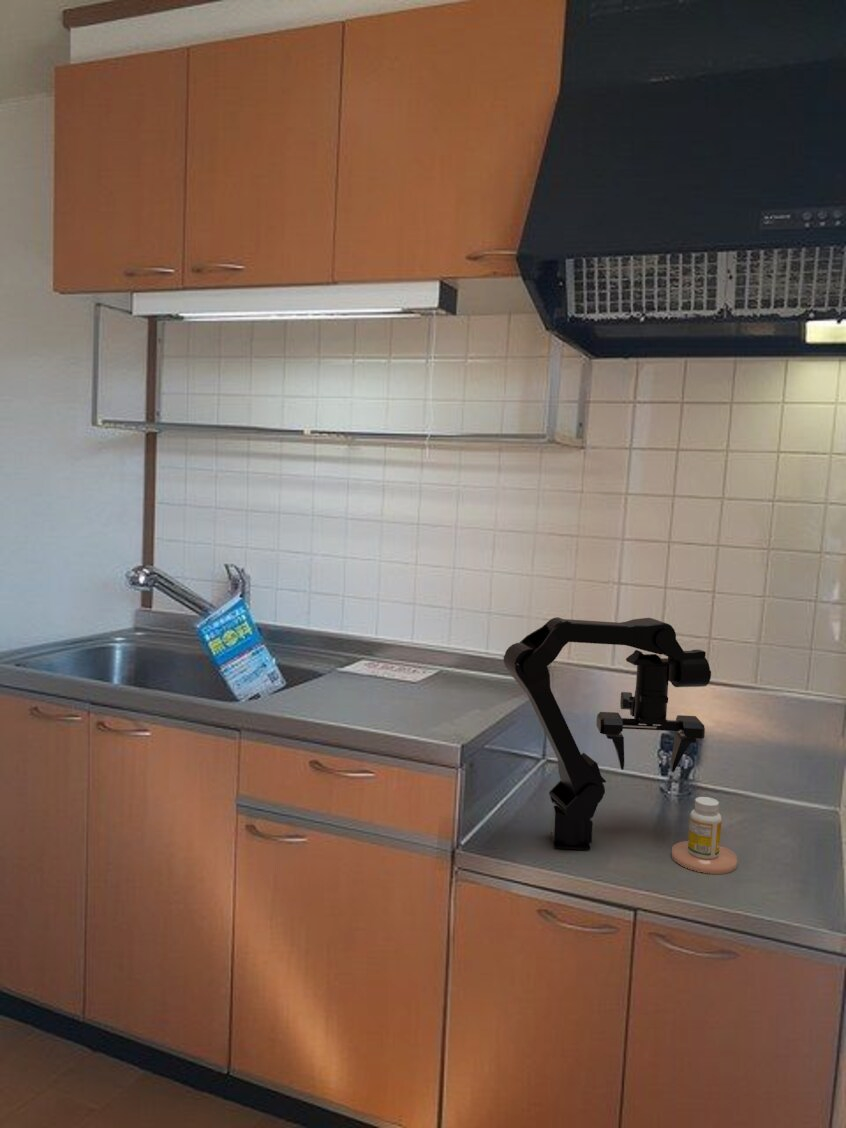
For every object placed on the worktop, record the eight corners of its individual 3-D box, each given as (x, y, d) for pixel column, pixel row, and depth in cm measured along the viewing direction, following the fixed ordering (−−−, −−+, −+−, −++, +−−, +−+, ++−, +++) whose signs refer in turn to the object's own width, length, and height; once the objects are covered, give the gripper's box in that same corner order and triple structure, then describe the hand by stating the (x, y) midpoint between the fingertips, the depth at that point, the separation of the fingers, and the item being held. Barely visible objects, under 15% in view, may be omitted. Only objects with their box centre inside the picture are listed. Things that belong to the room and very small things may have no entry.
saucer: (679, 872, 150) (680, 865, 150) (665, 845, 161) (666, 839, 161) (745, 875, 150) (745, 869, 150) (726, 848, 161) (727, 842, 160)
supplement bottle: (699, 861, 152) (702, 807, 151) (681, 848, 157) (684, 796, 156) (725, 858, 154) (729, 805, 153) (707, 845, 159) (710, 794, 158)
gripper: (692, 679, 169) (687, 758, 170) (594, 675, 170) (590, 754, 171) (707, 694, 158) (702, 778, 159) (603, 689, 159) (598, 773, 160)
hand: (647, 770), depth 163 cm, fingers open, 9 cm apart
